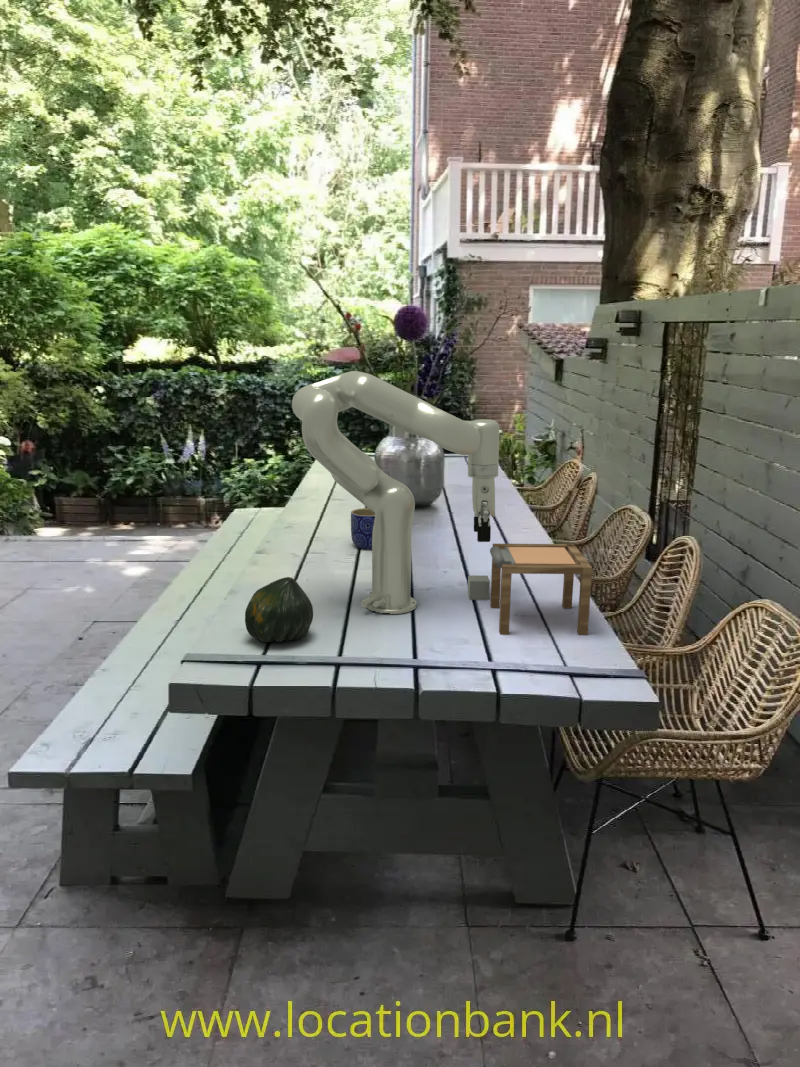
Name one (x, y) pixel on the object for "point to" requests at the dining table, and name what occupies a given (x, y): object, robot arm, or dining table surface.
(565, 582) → the frame
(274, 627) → the squash
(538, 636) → the dining table surface
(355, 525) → the planter
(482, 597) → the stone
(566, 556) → the trapdoor
